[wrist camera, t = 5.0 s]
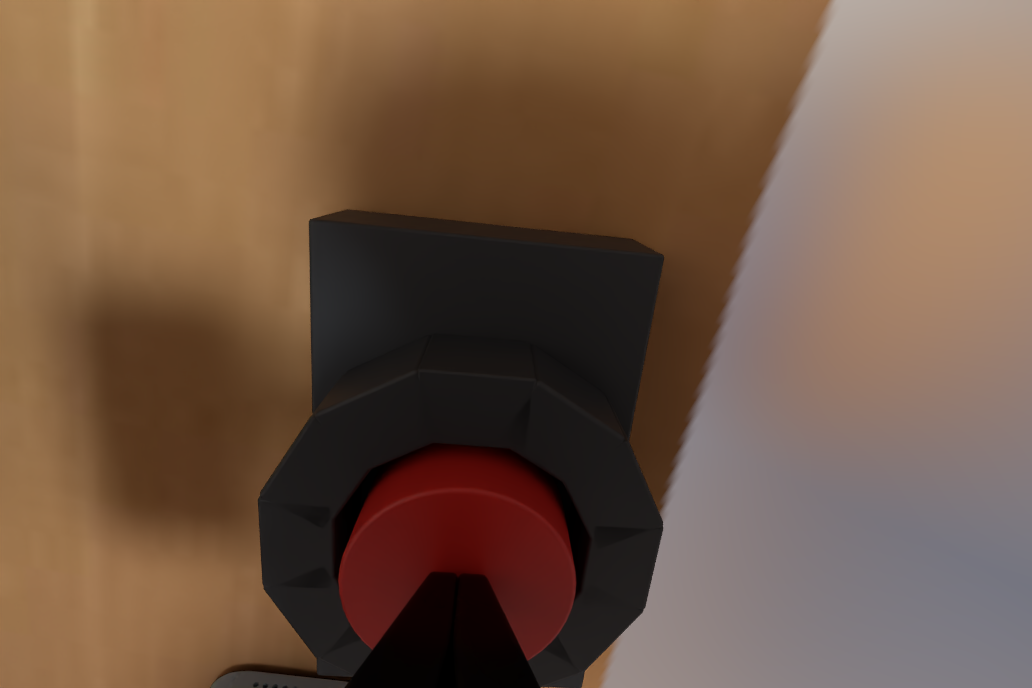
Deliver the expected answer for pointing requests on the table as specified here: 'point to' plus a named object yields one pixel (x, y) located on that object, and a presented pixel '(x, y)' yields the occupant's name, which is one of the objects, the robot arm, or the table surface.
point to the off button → (461, 539)
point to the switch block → (469, 405)
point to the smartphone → (272, 681)
